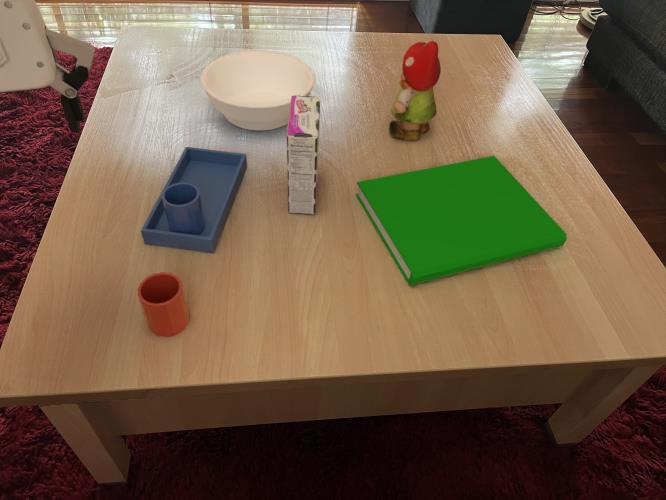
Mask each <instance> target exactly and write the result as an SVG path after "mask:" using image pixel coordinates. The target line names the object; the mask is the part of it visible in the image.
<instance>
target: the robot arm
mask: <svg viewBox="0 0 666 500" xmlns="http://www.w3.org/2000/svg"><path fill="white" fill-rule="evenodd" d="M57 52H60V53H63V54H66V55H69V56H73V57H74V58H75V59H76V63H75V64H74V66H73V67H72V69H71V70H70V71H69V70H68V69H66V68H65V67H64V66H62V65H61V64H60V63H58V55H57ZM94 58H95V46H94V45H92V44H91V43H89V42H86V41H83V40H80V39H77V38H74V37H72V36H69V35H66V34H63V33H60V32H58V31H54V30H52V29H49V28H48V27H47V23H46V22H45V20H44V17H43V15H42V13H41V10H40V8H39V6H38V4H37V2H36V0H0V93H7V92H19V91H29V90H37V89H42V88H43V89H44V88H47V87H51V88H52V89H53V90H56V92H58V93H60V104H61V108H62V109H63V112H64V115H65V119H66V121H67V123H68V126H69V129H70V132H71V133H73V134H80V132H81V131H80V129H81V128H80V127H81V122H82V121H85V120H86V119H85V118H86V117H85V111H84V108H83V105H82V102H81V99H80V95H79V93H78V92H79V91H80V90H81V88H82V87H83V85H84V84H85V83H86V81H88V79H89V77H90V72H91V70H92V69H91V68H92V65H93V61H94Z"/></svg>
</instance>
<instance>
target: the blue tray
mask: <svg viewBox="0 0 666 500" xmlns="http://www.w3.org/2000/svg"><path fill="white" fill-rule="evenodd" d="M247 161H248V160H247V153H241V152H231V151H225V150H224V151H223V150H214V149H208V148H199V147H193V146H192V147H191V146H185V148H184V149H183V151H182V153H181V154H180V157H179V159H178V161H177V163H176V165H175V166H174V168H173V170H172V172H171V174H170V175H169V177H168V178H167V181H166V183H165V184H164V186H163V189H162V191H161V192H160V194H159V196H158V198H157V200H156V201H155V204H154V205H153V207H152V209H151V211H150V212H149V215H148V216H147V218H146V219H145V221H144V224H143V226H141V227H142V228H141V229H140V233H141V236H142V240H143V243H144V245H148V246H149V245H150V246H157V247H165V248H172V249H178V250H179V249H180V250H187V251H195V252H203V253H209V254H215V252H216V249H217V246H218V244H219V241H220V238H221V236H222V233H223V231H224V228H225V225H226V223H227V220H228V218H229V216H230V212H231V209H232V207H233V205H234V202H235V199H236V197H237V194H238V192H239V189H240V187H241V184H242V181H243V179H244V176H245V174H246V171H247V169H248V162H247ZM182 182H185V183H191V184H193V185H195V186H196V187H197V188H198V189H199V192H200V198H201V204H202V210H203V216H204V222H205V228H204V230H203V232H202V233H201V234H200V235H191V234H183V233H176V232H170V229H169V226H168V222H167V217H166V213H165V209H164V205H163V201H162V193H163V191H164V190H165V189H166V188H167V187H168V186H170V185H173V184H175V183H182Z"/></svg>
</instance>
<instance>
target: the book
mask: <svg viewBox="0 0 666 500" xmlns="http://www.w3.org/2000/svg"><path fill="white" fill-rule="evenodd" d="M356 184H357V186H358V192H356V193H355V197H356V198H357V200H358V201H359V203H360V205H361V206H362V208H363V210H364V212H365V213H366V215H367V217H368V219H369V220H370V222H371V224H372V225H373V227H374V228H375V230H376V232H377V234H378V236H379V238H380V239H381V240H382V242H383V244H384V246H385V247H386V249H387V251H388V253H389V254H390V256H391V257H392V259H393V260H394V262H395V265H396V266H397V268H398V269H399V271H400V273H401V274H402V276H403V278H404V280H405V281H406V283H407V285H408V286H412V285H416V284H421V283H425V282H428V281H432V280H435V279H440V278H444V277H448V276H451V275H455V274H456V275H457V274H459V273H463V272H468V271H470V270H474V269H475V270H476V269H478V268H483V267H487V266H490V265H494V264H498V263H501V262H505V261H506V262H507V261H509V260H510V261H511V260H514V259H517V258H522V257H525V256H529V255H532V254H536V253H540V252H541V253H542V252H544V251H547V250H548V251H549V250H551V249H555V248H556V249H557V248H560V247H563V246H564V245H565V243H566V241H567V237H568V236H567V232H566V231H565V230H564V229H563V228H562V227H561V226H560V225H559V224H558V223H557V222H556V221H555V220H554V218H552V217H551V216H550V214H549V212H547V211H546V210H545V209H544V208H543V207H542V205H540V203H539V202H538V201H537V200H536V198H534V197H533V196H532V195H531V194H530V193H529V191H528V190H527V189H526V187H524V186H523V185H522V184H521V182H519V181H518V179H517V178H516V177H515V176H514V175H513V174H512V173H511V172H510V171H509V170H508V169H507V167H506V166H505V165H504V164H503V163H502V161H500V160H499V159H498V158H497V157H496V155H490V156H485V157H480V158H473V159H470V160H464V161H459V162H453V163H449V164H444V165H438V166H433V167H428V168H423V169H417V170H412V171H407V172H402V173H397V174H392V175H385V176H380V177H376V178H375V177H374V178H371V179H364V180H360V181H357V182H356Z"/></svg>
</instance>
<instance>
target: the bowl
mask: <svg viewBox="0 0 666 500" xmlns="http://www.w3.org/2000/svg"><path fill="white" fill-rule="evenodd" d="M315 82H316V78H315V74H314V72H313V70H312V68H311V67H310V66H309V65H308V64H307V63H306V62H304V60H302V59H300V58H298V57H295V56H293V55H291V54H287V53H284V52H279V51H276V50H266V49H250V50H249V49H247V50H241V51H235V52H230V53H227V54H224V55H222V56H220V57H217V58H216V59H214V60H212V61H210V62H209V63H208V64H207V65H206V66H205V67H204V69H203V70H202V72H201V74H200V83H201V87H202V88H203V90H204V92H205V94H206V96H207V97H208V100H209V101H210V104H211V105H212V106H213V108H214V109H216V111H218V112H219V113H220V114H222V115H223V116H224V118H225V119H226V120H227V121H228V123H230V124H231V125H234V126H236V127H238V128H240V129H245V130H249V131H270V130H271V131H272V130H275V129H278V128H281V127H284V126H285V125H288V121H289V114H290V105H291V97H292V96H295V95H299V96H309V97H311V96H310V95H311V93H312V91H313V88H314V86H315Z"/></svg>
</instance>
